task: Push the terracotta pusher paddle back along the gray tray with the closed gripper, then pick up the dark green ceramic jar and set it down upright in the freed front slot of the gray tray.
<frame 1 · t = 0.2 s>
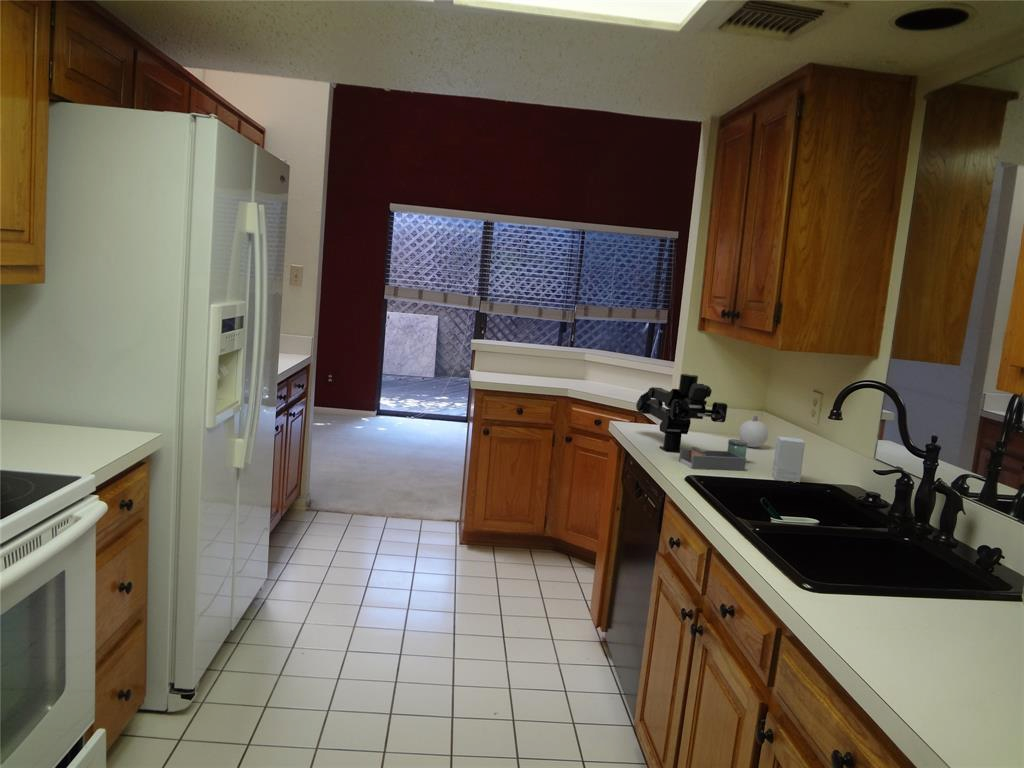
hand: (710, 416, 239), 17 cm above the worktop, tool horizontal, fingers open, 9 cm apart
gray tray: (711, 465, 245), on the worktop
jar: (735, 461, 256), on the worktop
ornament: (751, 447, 286), on the worktop
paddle: (698, 457, 244), point 3 cm above the worktop, slide at 0.0 cm
supplement box: (785, 479, 236), on the worktop
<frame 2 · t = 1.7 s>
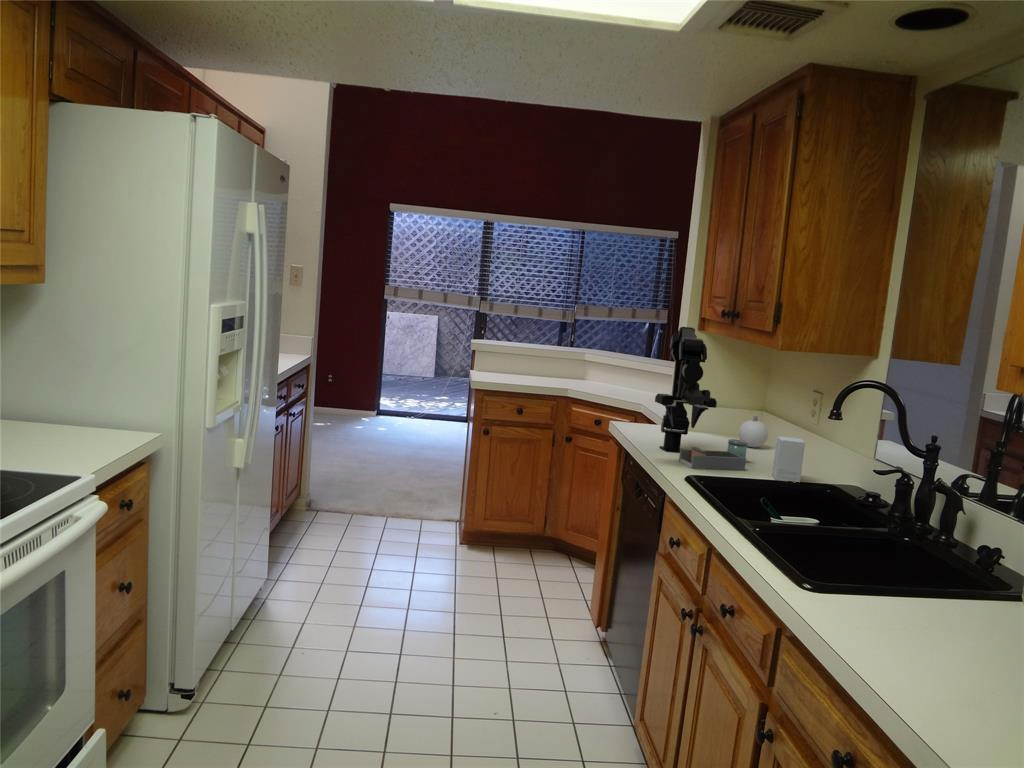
hand: (682, 427, 241), 12 cm above the worktop, tool pointing down, fingers open, 6 cm apart
nothing on the worktop moved.
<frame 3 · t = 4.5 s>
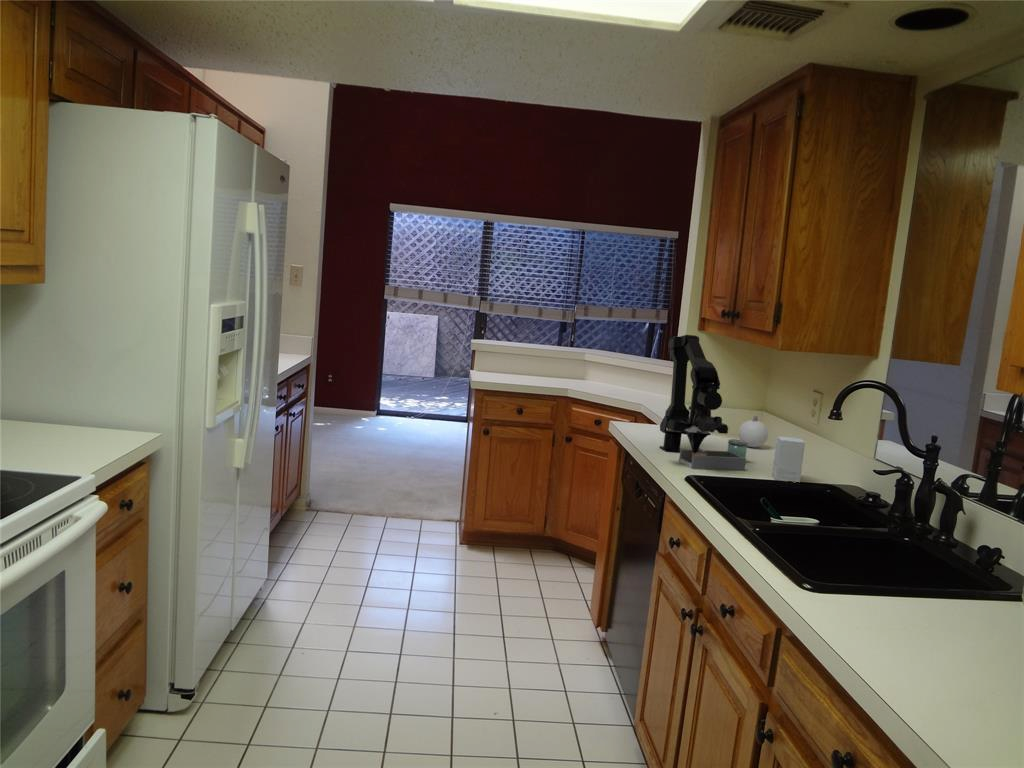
hand: (694, 453, 243), 4 cm above the worktop, tool pointing down, fingers closed
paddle: (698, 457, 244), point 3 cm above the worktop, slide at 0.3 cm, touching gripper
everything else where it was.
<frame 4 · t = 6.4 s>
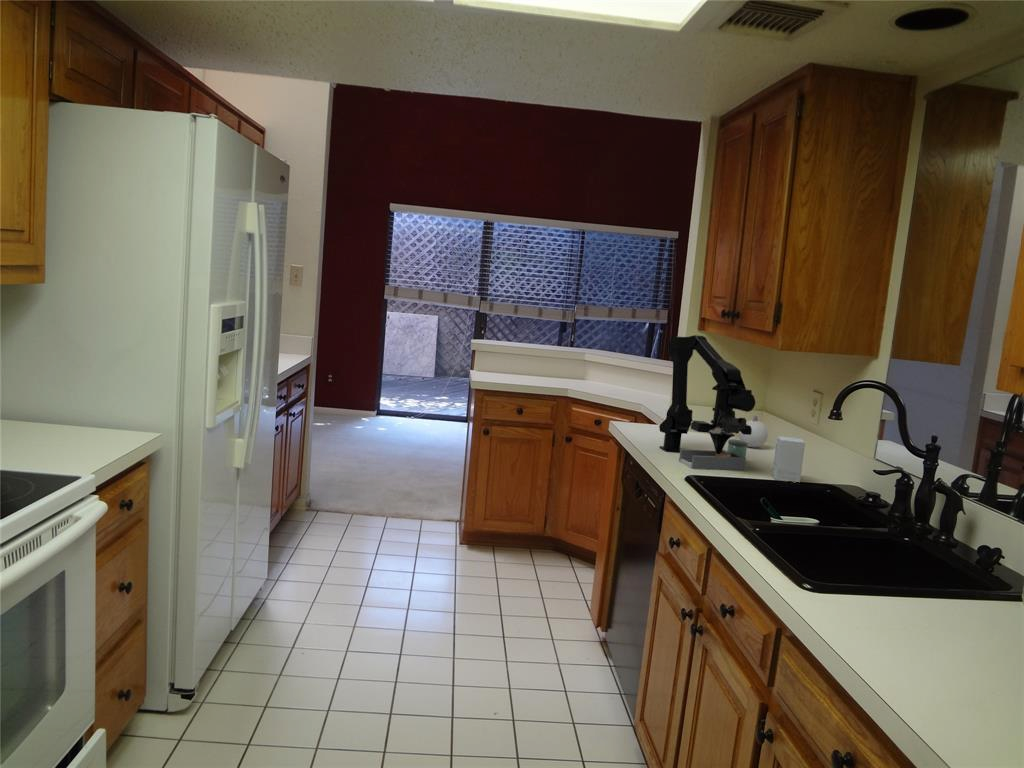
hand: (718, 453, 245), 4 cm above the worktop, tool pointing down, fingers closed
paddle: (722, 458, 245), point 3 cm above the worktop, slide at 8.6 cm, touching gripper
everything else where it was.
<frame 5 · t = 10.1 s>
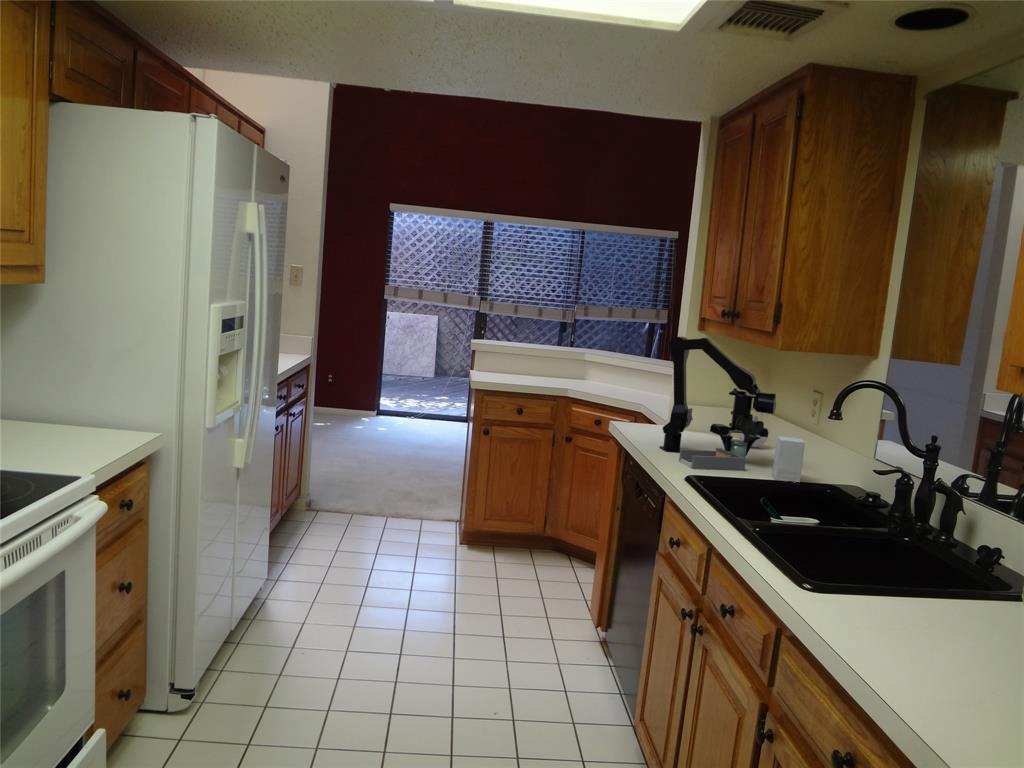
hand: (736, 455, 255), 2 cm above the worktop, tool pointing down, fingers closed on jar, 6 cm apart
jar: (735, 461, 256), on the worktop, touching gripper
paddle: (722, 458, 245), point 3 cm above the worktop, slide at 8.7 cm
everything else where it was.
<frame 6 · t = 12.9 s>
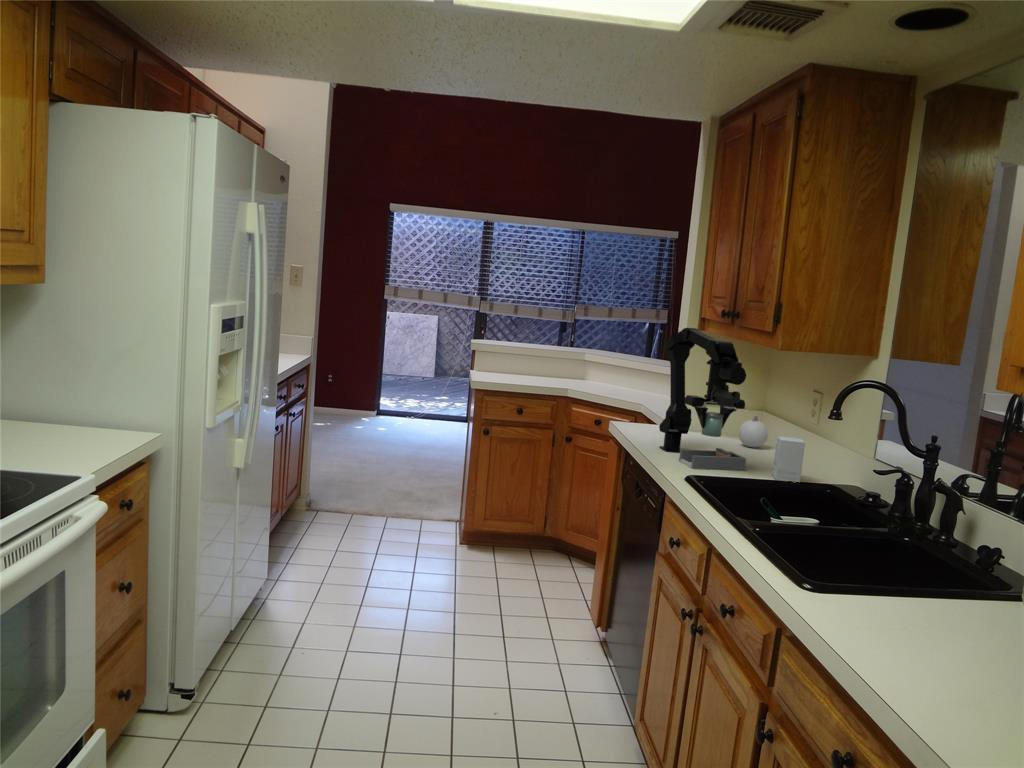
hand: (711, 428, 244), 12 cm above the worktop, tool pointing down, fingers closed on jar, 6 cm apart
jar: (711, 434, 244), point 10 cm above the worktop, touching gripper
everything else where it was.
when the fingers open (3 cm above the worktop, at t = 15.5 s): jar drops 1 cm, resting in gray tray.
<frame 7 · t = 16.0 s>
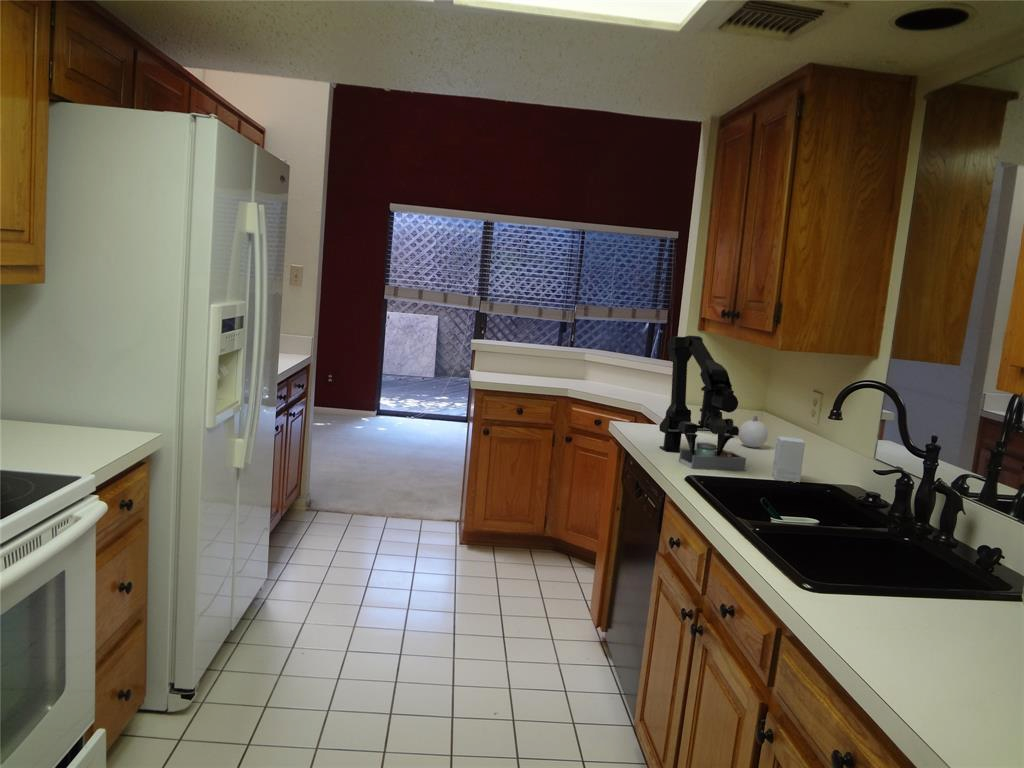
hand: (705, 454, 244), 4 cm above the worktop, tool pointing down, fingers open, 9 cm apart
jar: (704, 465, 244), resting in gray tray
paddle: (723, 458, 246), point 3 cm above the worktop, slide at 8.8 cm, touching gripper
everything else where it was.
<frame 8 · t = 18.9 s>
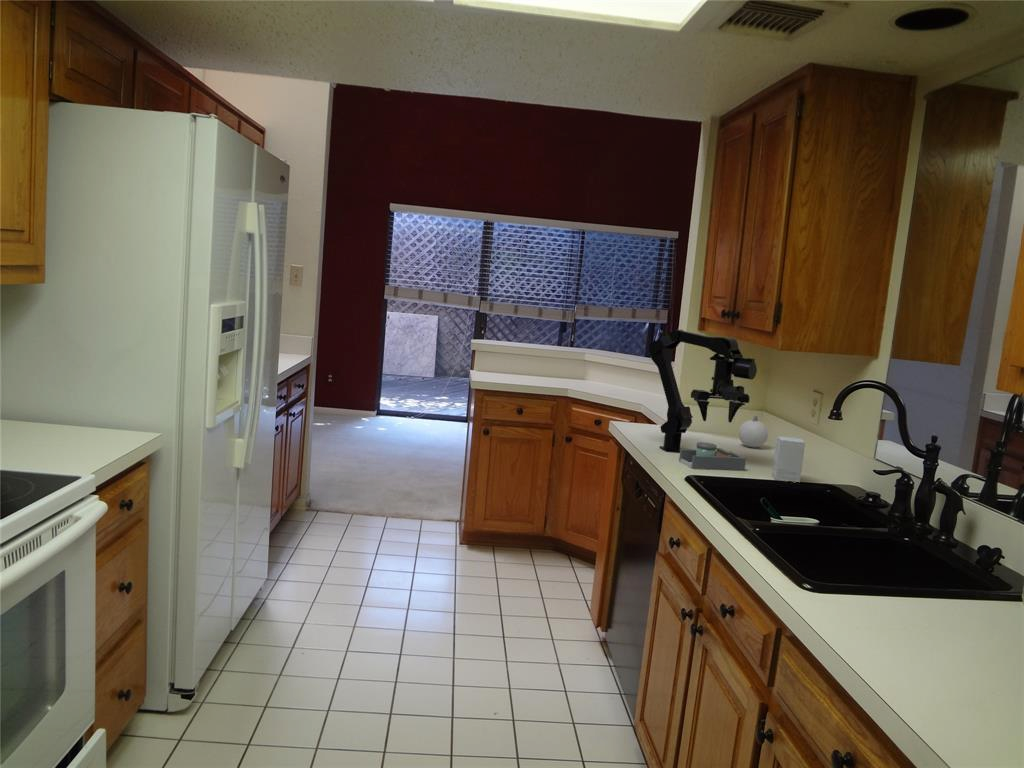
hand: (717, 421, 253), 13 cm above the worktop, tool pointing down, fingers open, 9 cm apart
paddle: (723, 458, 246), point 3 cm above the worktop, slide at 8.8 cm
everything else where it was.
at the end: jar 0.2 cm from the target spot on the gray tray, point 0.0 cm above the gray tray's base; jar tilted 0°; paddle slide at 8.8 cm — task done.
